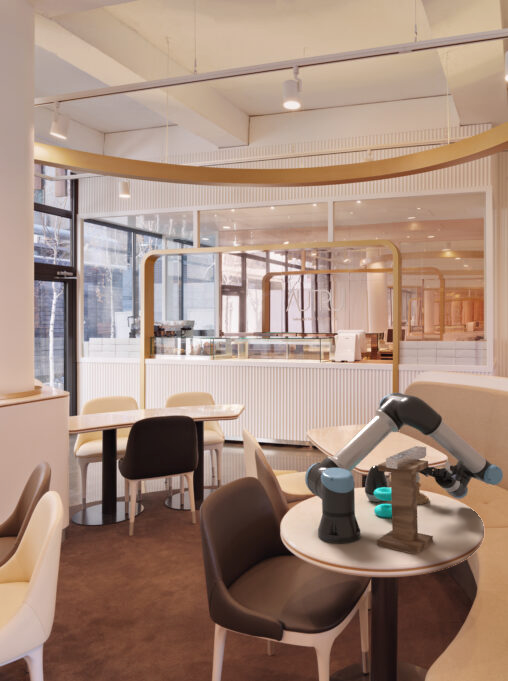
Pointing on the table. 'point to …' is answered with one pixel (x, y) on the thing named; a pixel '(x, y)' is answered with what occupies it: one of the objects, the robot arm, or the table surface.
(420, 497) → the candle holder
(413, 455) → the grey block
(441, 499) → the table surface
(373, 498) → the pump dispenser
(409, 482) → the stand
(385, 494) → the donuts
